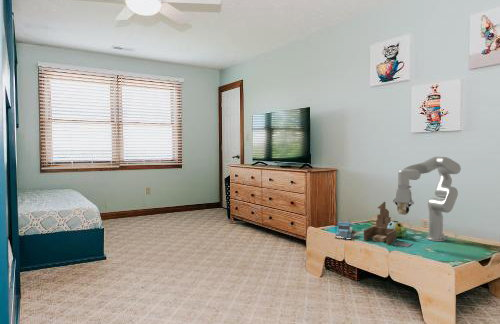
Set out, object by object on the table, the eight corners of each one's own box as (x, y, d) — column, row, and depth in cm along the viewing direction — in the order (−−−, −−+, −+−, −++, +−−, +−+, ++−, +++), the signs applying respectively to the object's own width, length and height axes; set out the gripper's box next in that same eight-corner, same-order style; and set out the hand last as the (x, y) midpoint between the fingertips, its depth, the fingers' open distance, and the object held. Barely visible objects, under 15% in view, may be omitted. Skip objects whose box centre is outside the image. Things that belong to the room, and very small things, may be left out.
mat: (412, 244, 262) (412, 243, 262) (407, 247, 254) (407, 246, 254) (398, 241, 269) (398, 241, 269) (393, 244, 261) (393, 244, 261)
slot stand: (396, 240, 274) (396, 229, 273) (387, 245, 261) (388, 234, 260) (373, 235, 286) (373, 226, 285) (363, 240, 273) (363, 230, 273)
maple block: (407, 213, 260) (408, 202, 260) (405, 214, 257) (405, 203, 256) (400, 212, 264) (401, 202, 263) (398, 213, 260) (398, 202, 259)
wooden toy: (395, 232, 297) (395, 202, 295) (391, 233, 292) (391, 203, 291) (378, 228, 308) (378, 200, 307) (374, 230, 304) (374, 200, 303)
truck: (335, 239, 279) (335, 220, 278) (337, 230, 306) (338, 212, 306) (351, 240, 275) (351, 221, 274) (352, 231, 303) (352, 213, 302)
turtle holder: (398, 240, 272) (398, 225, 271) (383, 234, 289) (383, 220, 289) (412, 239, 275) (412, 224, 274) (396, 233, 292) (397, 219, 292)
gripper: (417, 187, 256) (417, 212, 257) (393, 185, 268) (393, 210, 269) (414, 188, 251) (413, 214, 252) (389, 186, 262) (389, 211, 263)
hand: (403, 211), depth 260 cm, fingers closed on maple block, 5 cm apart
